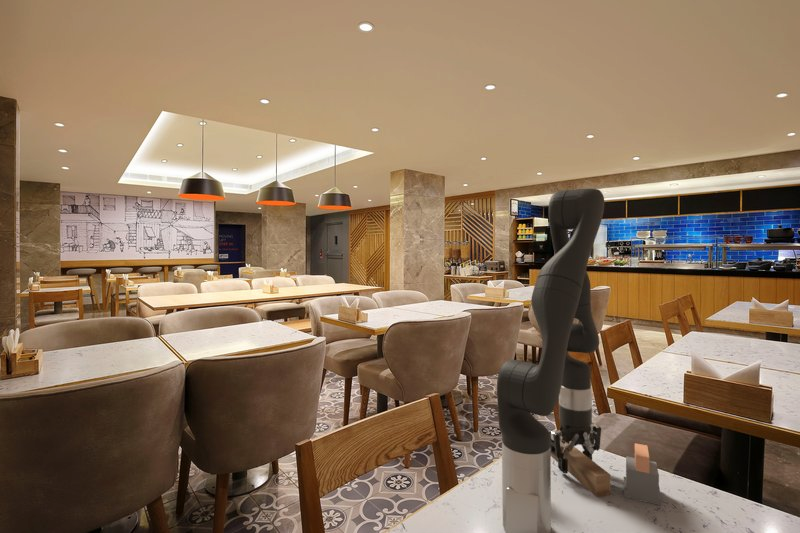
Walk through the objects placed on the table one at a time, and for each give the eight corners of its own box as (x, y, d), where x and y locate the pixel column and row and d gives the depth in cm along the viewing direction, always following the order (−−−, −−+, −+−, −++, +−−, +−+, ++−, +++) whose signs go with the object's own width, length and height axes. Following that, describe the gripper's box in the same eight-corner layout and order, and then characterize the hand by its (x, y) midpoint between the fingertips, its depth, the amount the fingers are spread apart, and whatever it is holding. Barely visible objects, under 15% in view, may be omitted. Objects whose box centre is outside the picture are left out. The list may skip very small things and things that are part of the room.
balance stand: (661, 505, 86) (661, 460, 85) (624, 496, 89) (624, 452, 89) (658, 490, 91) (658, 447, 91) (623, 482, 94) (623, 441, 94)
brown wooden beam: (610, 496, 90) (610, 474, 90) (596, 498, 89) (596, 476, 89) (559, 452, 109) (559, 434, 109) (547, 453, 109) (547, 435, 109)
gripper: (561, 413, 93) (561, 483, 93) (610, 405, 97) (610, 472, 98) (540, 401, 100) (541, 466, 101) (587, 394, 104) (587, 457, 105)
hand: (575, 469), depth 99 cm, fingers open, 6 cm apart
